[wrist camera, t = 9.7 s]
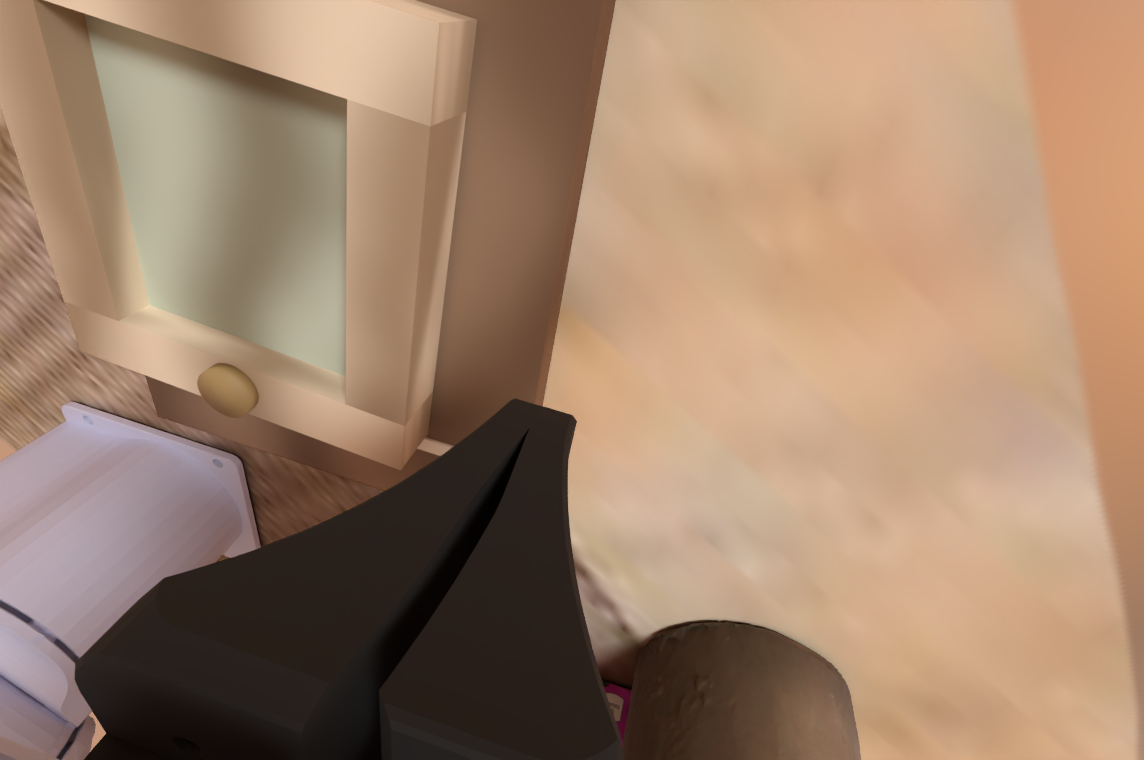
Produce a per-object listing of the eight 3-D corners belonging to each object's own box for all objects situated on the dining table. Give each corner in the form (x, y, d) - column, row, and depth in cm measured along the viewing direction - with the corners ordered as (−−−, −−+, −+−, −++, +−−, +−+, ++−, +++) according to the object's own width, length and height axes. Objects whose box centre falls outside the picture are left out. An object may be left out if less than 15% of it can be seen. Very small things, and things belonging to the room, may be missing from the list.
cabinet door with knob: (130, 324, 22) (66, 358, 20) (15, -124, 14) (-108, -144, 12) (427, 433, 21) (393, 480, 19) (477, 19, 13) (428, 23, 11)
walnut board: (185, 396, 26) (156, 417, 25) (19, -206, 15) (-50, -225, 13) (524, 505, 24) (511, 534, 23) (630, -82, 13) (617, -91, 12)
